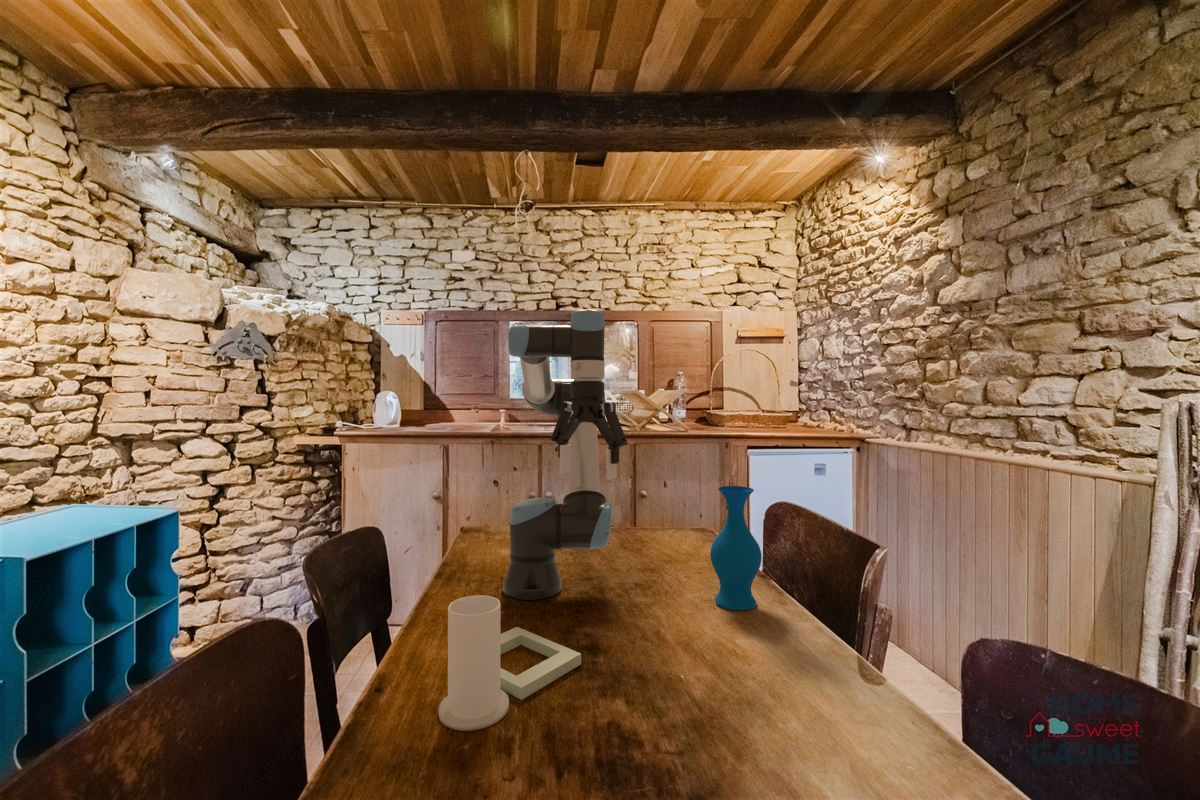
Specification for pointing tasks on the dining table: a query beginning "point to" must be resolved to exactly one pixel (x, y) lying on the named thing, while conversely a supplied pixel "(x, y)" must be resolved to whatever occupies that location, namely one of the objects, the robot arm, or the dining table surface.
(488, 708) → the cup
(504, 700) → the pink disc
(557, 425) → the robot arm
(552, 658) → the pale green rectangular frame
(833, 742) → the dining table surface
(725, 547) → the vase
